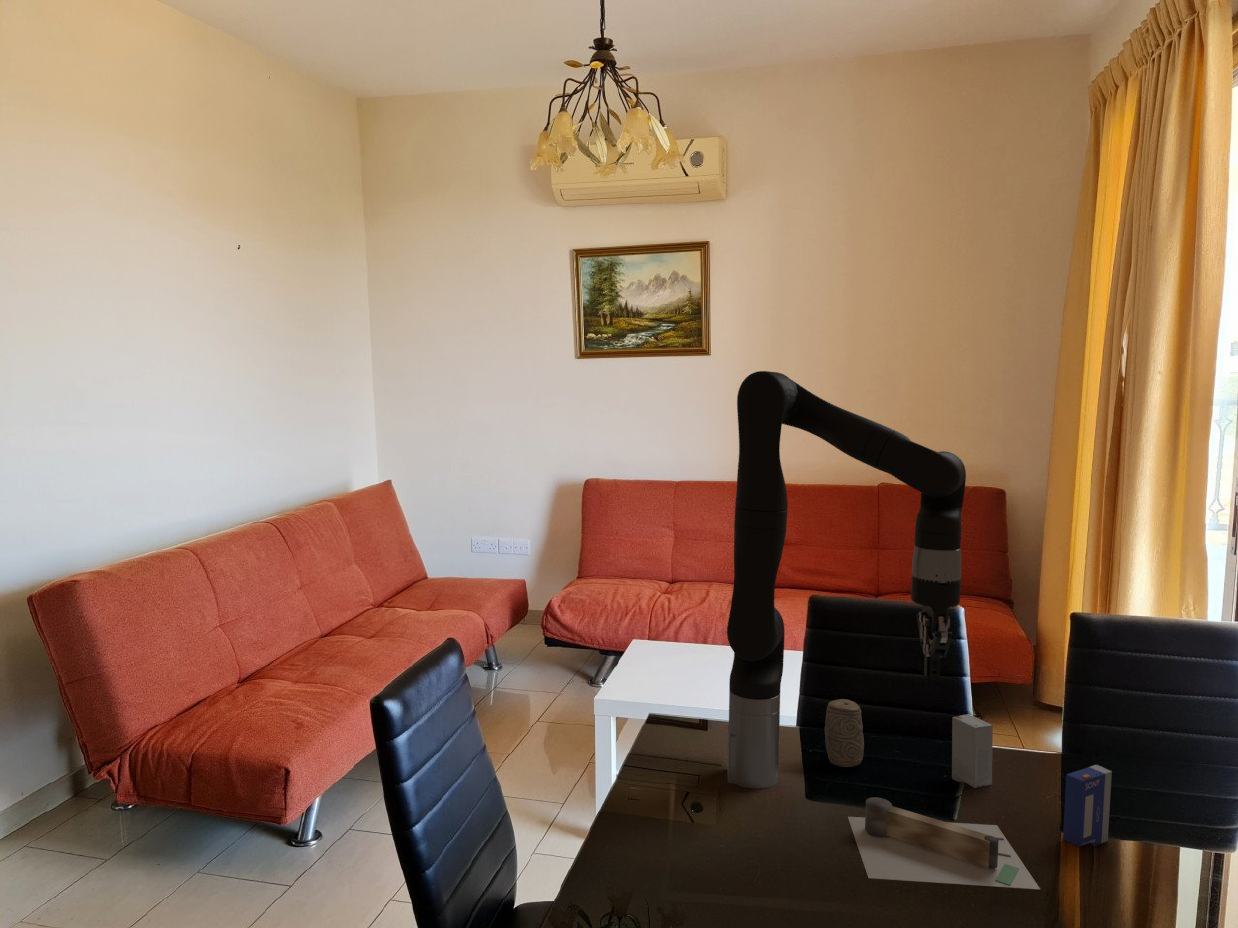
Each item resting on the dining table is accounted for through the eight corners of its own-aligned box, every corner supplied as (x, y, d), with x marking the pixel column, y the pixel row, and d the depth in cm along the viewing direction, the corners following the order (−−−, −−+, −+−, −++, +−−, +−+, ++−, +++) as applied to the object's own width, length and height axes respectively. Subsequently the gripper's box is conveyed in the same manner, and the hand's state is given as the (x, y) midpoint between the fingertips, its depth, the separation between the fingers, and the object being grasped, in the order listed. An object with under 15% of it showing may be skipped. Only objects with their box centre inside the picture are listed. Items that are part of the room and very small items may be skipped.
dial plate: (868, 884, 122) (868, 876, 122) (847, 822, 140) (847, 815, 140) (1040, 895, 120) (1040, 887, 120) (996, 830, 138) (997, 824, 138)
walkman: (1078, 852, 131) (1083, 778, 130) (1062, 844, 134) (1066, 771, 133) (1109, 840, 135) (1113, 768, 134) (1092, 832, 137) (1096, 762, 136)
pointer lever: (861, 831, 135) (862, 804, 134) (870, 821, 138) (871, 794, 137) (993, 874, 123) (995, 844, 122) (1000, 862, 126) (1001, 833, 126)
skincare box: (992, 789, 152) (996, 725, 151) (973, 793, 151) (976, 728, 150) (968, 775, 158) (970, 712, 157) (949, 778, 156) (951, 715, 155)
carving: (830, 753, 167) (832, 694, 166) (868, 762, 163) (870, 703, 162) (818, 764, 162) (820, 703, 161) (856, 774, 158) (858, 712, 157)
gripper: (902, 565, 143) (899, 664, 145) (922, 582, 130) (918, 691, 132) (948, 566, 142) (944, 666, 144) (972, 584, 129) (968, 693, 131)
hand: (931, 677), depth 138 cm, fingers closed
